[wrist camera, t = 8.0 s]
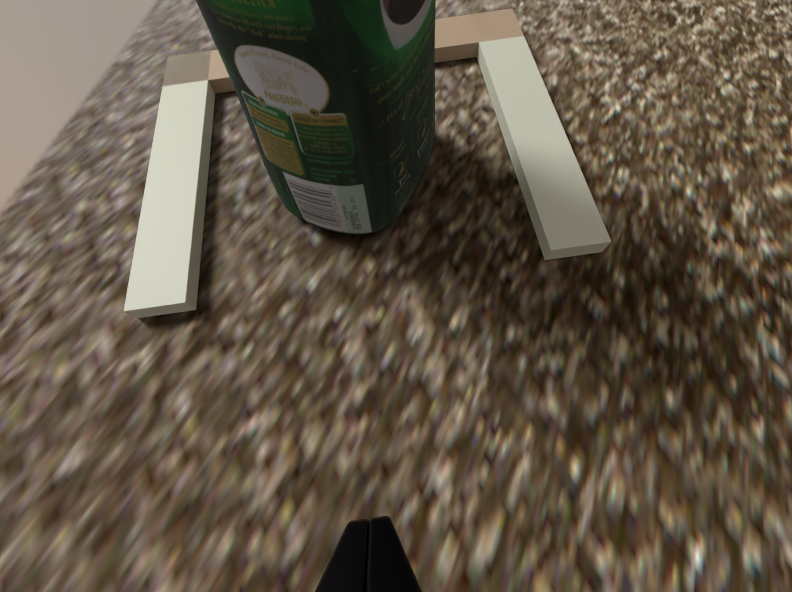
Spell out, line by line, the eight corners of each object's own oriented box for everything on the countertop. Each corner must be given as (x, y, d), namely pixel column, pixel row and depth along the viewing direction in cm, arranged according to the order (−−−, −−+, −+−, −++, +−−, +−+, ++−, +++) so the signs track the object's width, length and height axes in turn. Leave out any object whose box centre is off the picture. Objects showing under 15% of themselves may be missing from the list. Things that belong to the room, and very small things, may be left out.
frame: (602, 252, 19) (611, 241, 18) (137, 318, 19) (123, 311, 18) (509, 23, 27) (512, 8, 26) (176, 70, 27) (167, 56, 26)
